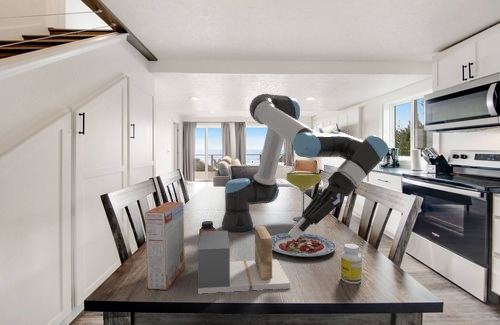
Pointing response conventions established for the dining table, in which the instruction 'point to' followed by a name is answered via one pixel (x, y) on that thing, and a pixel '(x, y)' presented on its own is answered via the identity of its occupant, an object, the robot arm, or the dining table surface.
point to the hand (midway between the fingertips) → (291, 237)
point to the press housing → (231, 268)
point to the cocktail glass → (303, 183)
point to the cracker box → (164, 244)
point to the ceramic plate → (302, 245)
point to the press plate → (263, 252)
